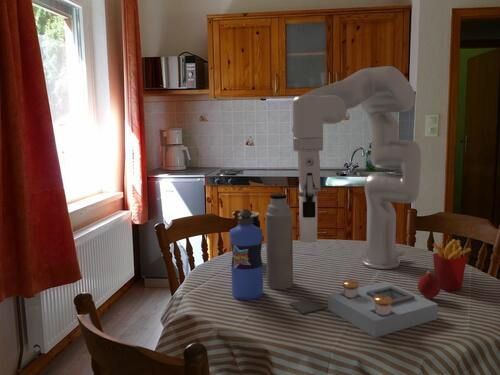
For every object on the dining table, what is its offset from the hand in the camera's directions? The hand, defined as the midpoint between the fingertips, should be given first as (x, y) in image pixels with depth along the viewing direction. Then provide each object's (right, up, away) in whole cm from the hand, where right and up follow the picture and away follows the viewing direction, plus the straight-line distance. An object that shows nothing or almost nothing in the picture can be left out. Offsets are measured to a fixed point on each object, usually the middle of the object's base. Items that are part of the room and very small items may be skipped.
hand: (308, 214), depth 117 cm
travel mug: (-15, -20, +42) cm, 49 cm away
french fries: (+44, -23, +14) cm, 52 cm away
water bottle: (-16, -24, +14) cm, 32 cm away
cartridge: (0, -7, +1) cm, 7 cm away
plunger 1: (+11, -25, +1) cm, 27 cm away
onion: (+34, -24, +7) cm, 42 cm away
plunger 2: (+17, -26, -9) cm, 32 cm away
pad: (0, -25, +4) cm, 25 cm away
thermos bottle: (-6, -23, +21) cm, 32 cm away
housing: (+18, -25, -2) cm, 32 cm away
